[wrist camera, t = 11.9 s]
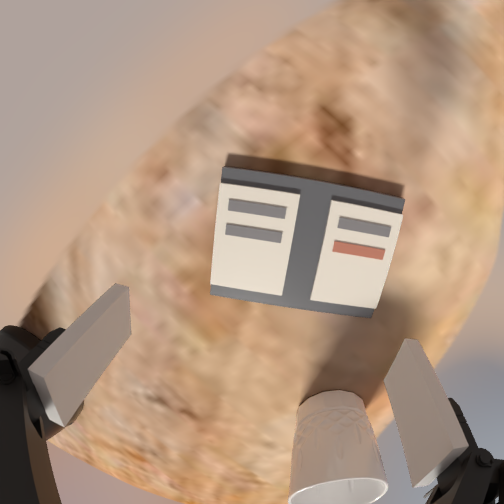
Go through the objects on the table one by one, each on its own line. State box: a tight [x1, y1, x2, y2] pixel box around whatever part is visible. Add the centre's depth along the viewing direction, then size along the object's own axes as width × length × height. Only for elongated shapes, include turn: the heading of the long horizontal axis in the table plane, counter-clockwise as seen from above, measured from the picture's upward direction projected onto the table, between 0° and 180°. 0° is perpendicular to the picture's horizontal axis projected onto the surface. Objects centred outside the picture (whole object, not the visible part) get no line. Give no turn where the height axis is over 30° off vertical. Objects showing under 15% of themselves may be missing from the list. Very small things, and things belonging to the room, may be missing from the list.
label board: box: [210, 166, 405, 318], centre depth 20 cm, size 12×9×1 cm
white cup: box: [288, 390, 388, 504], centre depth 21 cm, size 8×8×10 cm
